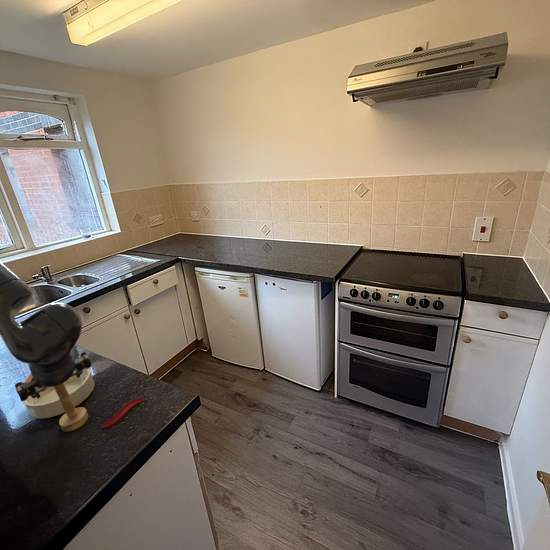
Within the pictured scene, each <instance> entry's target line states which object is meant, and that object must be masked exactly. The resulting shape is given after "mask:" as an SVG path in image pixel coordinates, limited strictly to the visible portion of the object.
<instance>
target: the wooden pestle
mask: <svg viewBox="0 0 550 550" xmlns="http://www.w3.org/2000/svg"><path fill="white" fill-rule="evenodd" d="M54 388H55V391H56V393H57V395H58V397H59V399H60V401H61V404H62V406H63V408H64V410H65V412H64V413H63V415H62V416H61V417H60V418H59V420H58V421H59V422H58V423H59V425H60V426H59V427H60V428H61V430H62V431H63V432H72V431H75V430H78V429H79V428H81V427H82V426H83V425H84V424H86V423H87V421H88V420H89V413H88V411H87V409H86V408H85V407H84V406H78V407H77V406H76V407H74V405H73V403H72V401H71V399H70V396H69V394H68V392H67V390H66V387H65V385H64V383H62V384H60V385H58V386H54Z"/></svg>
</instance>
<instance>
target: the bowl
mask: <svg viewBox="0 0 550 550" xmlns="http://www.w3.org/2000/svg"><path fill="white" fill-rule="evenodd" d="M64 385H65V387H66V390H67V392H68V394H69V396H70V399H71V401H72V403H73V405H74V408H76V407H77V406H79V405H80V404H82V403H83V402H84V401H85V400H86V399H87V398H89V396H90V395H91V393H92V392H93V391H94V388H95V385H96V383H95V379H94V377H93V375H92V372H91V369H90V368H88V369H86V368H85V369H83V373H82V374H81V375H80V377H79V378H77V377H76V375H75V376H73V377H70V378H69V379H68V380H67V381H66V382H64ZM39 394H40V396H41V397H40V398H38V399H37V397H36V398H32V397H31V396H28V399H26V400H25V401H22V403H23V405H24V407H25V409H26V411H27V413H28V414H29V415H30V417H31V418H34V419H39V420H40V419H50V418H53V417H56V416H59V415H62V414H65V413H66V412H65V410H64V408H63V406H62V404H61V401H60V399H59V397H58V395H57V393H56V391H55V388H54V386H53V387H48V388H47V389H46V390H45V391H43V392H40V393H39Z"/></svg>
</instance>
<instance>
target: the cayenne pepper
mask: <svg viewBox="0 0 550 550" xmlns="http://www.w3.org/2000/svg"><path fill="white" fill-rule="evenodd" d="M146 401H147V399H146V398H134V399H131V400H128V401H127V402H125V403H124V404H123V405H122V407H121V408H120V409H119V410H118V411H117V412H116V413H115V414H113V416H111V417H110V418H109V419H108V420H107V421H106V422H105V423H103V424H102V425H101V426H100V427H99V429H107V428H110V427H112V426H113V425H114V426H115V424H117V423H118V422H120V421H121V420H122V419H123V418H124V417H125V416H126V415H127V414H128V413H129V412H130V411H131V410H132V409H133V408H134V407H135V406H137V405H138V404H140V403H144V402H146Z"/></svg>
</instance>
